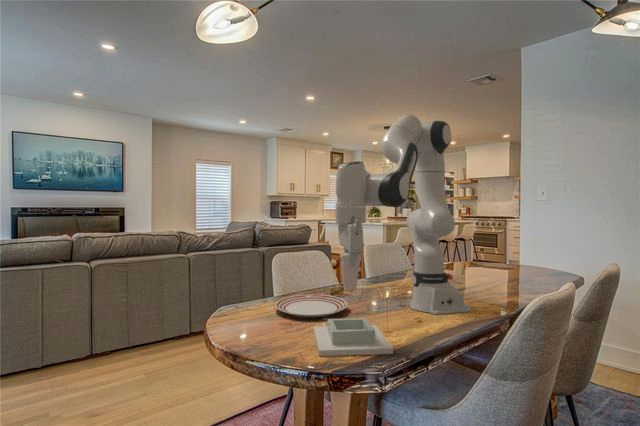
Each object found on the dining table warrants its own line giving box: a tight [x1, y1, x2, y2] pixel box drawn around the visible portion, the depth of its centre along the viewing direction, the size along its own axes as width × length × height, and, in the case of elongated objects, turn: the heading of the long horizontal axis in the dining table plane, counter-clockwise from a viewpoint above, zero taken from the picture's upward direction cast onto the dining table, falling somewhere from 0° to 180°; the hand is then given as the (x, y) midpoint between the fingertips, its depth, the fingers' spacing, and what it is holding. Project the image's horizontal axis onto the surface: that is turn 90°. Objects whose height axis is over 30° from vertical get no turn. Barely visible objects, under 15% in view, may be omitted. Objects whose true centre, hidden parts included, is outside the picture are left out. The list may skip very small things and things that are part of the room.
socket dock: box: [312, 317, 394, 357], centre depth 109 cm, size 20×20×5 cm
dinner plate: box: [274, 293, 348, 319], centre depth 143 cm, size 27×27×3 cm
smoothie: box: [339, 250, 362, 290], centre depth 109 cm, size 6×6×14 cm
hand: (350, 264), depth 109 cm, fingers closed on smoothie, 6 cm apart
